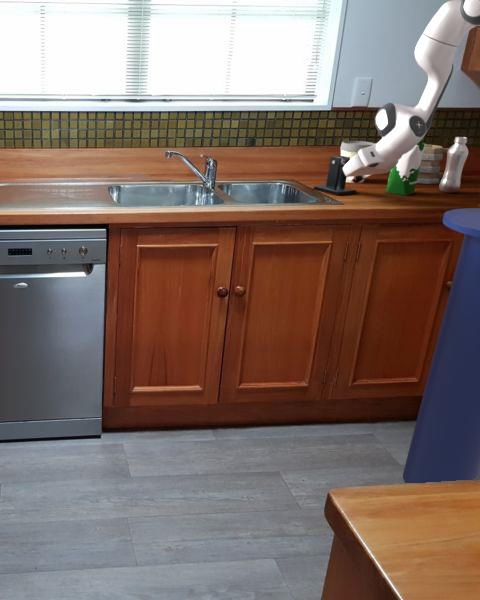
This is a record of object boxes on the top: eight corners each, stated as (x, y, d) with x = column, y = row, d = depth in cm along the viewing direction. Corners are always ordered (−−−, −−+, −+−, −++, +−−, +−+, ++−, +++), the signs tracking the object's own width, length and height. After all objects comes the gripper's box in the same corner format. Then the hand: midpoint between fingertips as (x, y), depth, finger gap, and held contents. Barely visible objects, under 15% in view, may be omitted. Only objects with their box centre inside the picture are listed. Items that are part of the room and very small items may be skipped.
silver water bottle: (442, 189, 231) (454, 135, 224) (461, 192, 226) (475, 137, 219) (434, 191, 227) (447, 137, 220) (454, 194, 223) (468, 139, 215)
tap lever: (361, 184, 217) (366, 176, 215) (353, 185, 216) (358, 176, 214) (338, 163, 225) (343, 155, 223) (331, 163, 224) (335, 155, 222)
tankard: (404, 182, 243) (412, 144, 238) (401, 177, 254) (409, 140, 248) (461, 186, 236) (470, 147, 231) (456, 181, 247) (465, 143, 241)
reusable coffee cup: (328, 178, 251) (334, 141, 245) (356, 177, 253) (363, 140, 247) (346, 184, 239) (353, 145, 233) (375, 183, 241) (382, 144, 236)
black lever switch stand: (356, 193, 223) (362, 158, 219) (337, 195, 220) (343, 159, 215) (331, 187, 234) (337, 153, 229) (313, 189, 230) (318, 154, 225)
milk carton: (407, 196, 219) (419, 139, 212) (382, 192, 226) (393, 137, 218) (417, 193, 225) (429, 137, 217) (392, 189, 231) (403, 135, 224)
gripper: (400, 146, 210) (372, 169, 222) (356, 149, 203) (330, 173, 215) (409, 161, 208) (380, 184, 220) (364, 164, 200) (337, 188, 212)
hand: (355, 179), depth 217 cm, fingers closed on tap lever, 3 cm apart
